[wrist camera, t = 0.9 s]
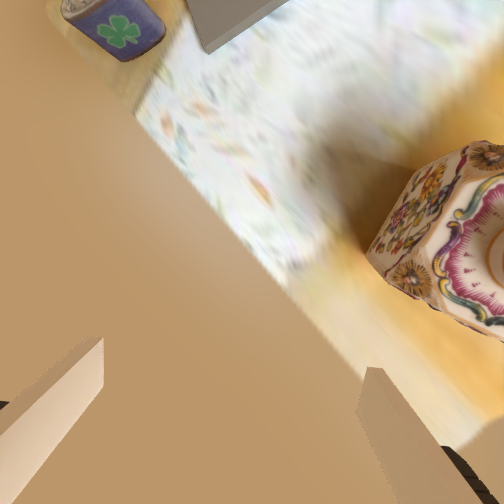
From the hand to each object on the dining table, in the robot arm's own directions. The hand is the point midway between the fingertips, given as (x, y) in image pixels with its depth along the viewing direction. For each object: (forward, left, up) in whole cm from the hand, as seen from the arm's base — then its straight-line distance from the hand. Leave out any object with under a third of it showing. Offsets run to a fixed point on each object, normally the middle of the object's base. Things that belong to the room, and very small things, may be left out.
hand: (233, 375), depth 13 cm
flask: (+10, -39, -24) cm, 47 cm away
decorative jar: (-17, +1, -24) cm, 30 cm away
